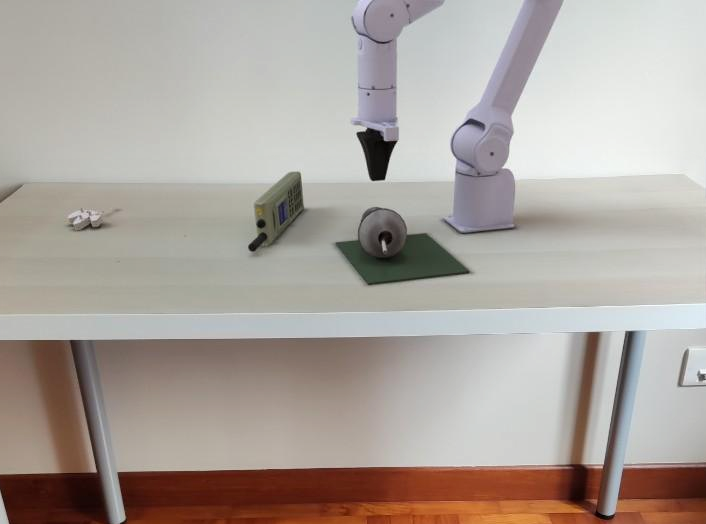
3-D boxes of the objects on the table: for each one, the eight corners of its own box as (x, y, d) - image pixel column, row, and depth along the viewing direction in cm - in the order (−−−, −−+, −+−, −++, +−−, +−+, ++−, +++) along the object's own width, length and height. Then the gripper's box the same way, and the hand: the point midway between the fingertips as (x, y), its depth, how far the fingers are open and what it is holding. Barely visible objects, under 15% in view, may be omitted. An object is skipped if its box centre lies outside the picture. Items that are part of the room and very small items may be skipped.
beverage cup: (405, 210, 129) (424, 231, 111) (385, 251, 131) (400, 278, 113) (364, 190, 127) (376, 208, 109) (344, 232, 130) (353, 257, 111)
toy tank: (63, 230, 134) (60, 215, 133) (85, 211, 144) (83, 196, 143) (97, 230, 134) (95, 214, 132) (117, 210, 144) (115, 196, 142)
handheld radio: (307, 209, 143) (263, 256, 122) (289, 209, 144) (243, 256, 123) (303, 171, 140) (258, 212, 119) (285, 171, 141) (237, 212, 119)
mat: (425, 234, 130) (425, 233, 130) (469, 272, 115) (469, 270, 115) (335, 244, 127) (335, 242, 127) (368, 284, 112) (368, 282, 112)
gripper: (338, 81, 124) (340, 170, 131) (365, 96, 112) (365, 193, 119) (382, 78, 126) (382, 167, 133) (413, 93, 114) (411, 189, 121)
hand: (377, 179), depth 126 cm, fingers closed
